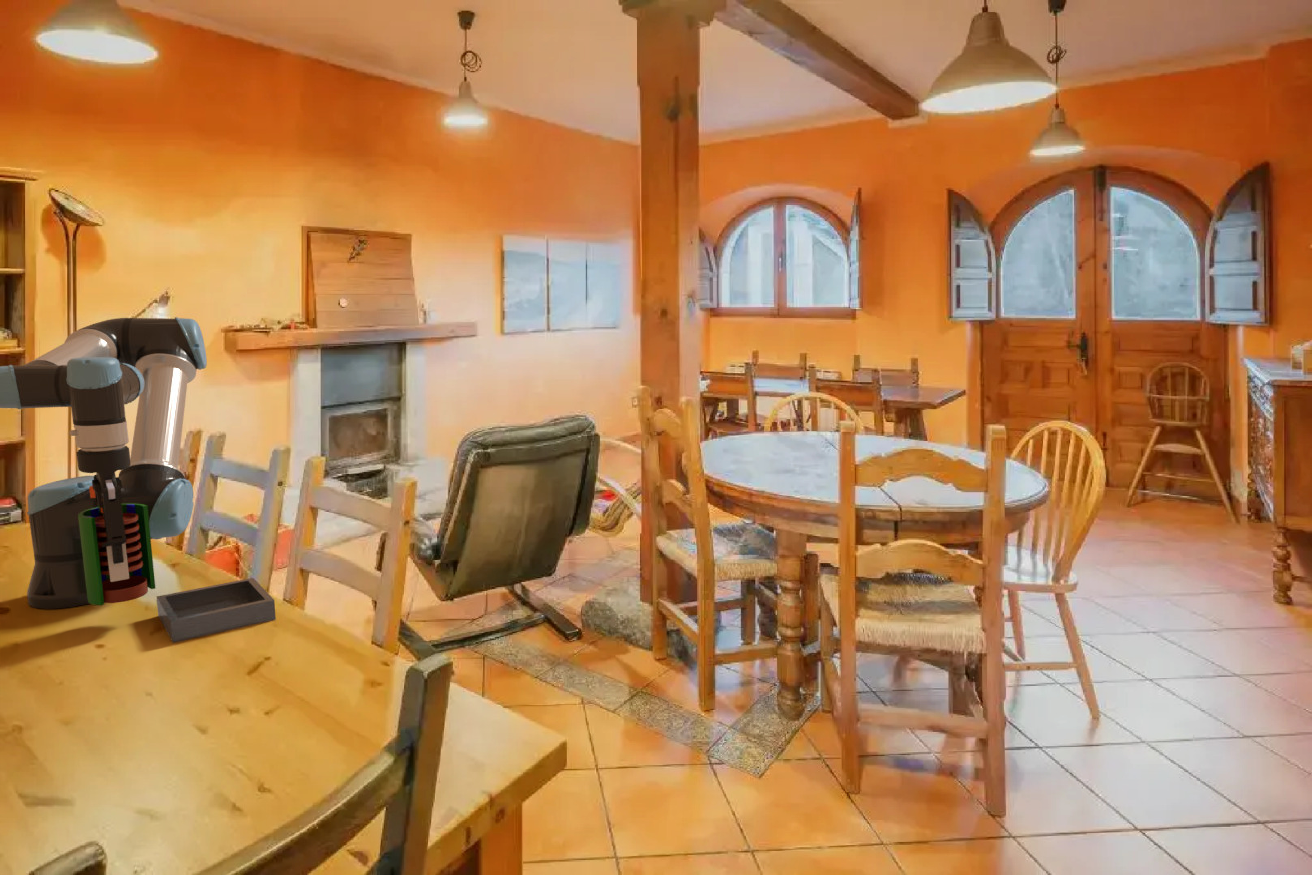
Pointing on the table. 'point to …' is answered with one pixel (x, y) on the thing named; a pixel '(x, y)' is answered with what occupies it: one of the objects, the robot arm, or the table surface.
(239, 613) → the tray
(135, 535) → the motor
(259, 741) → the table surface
